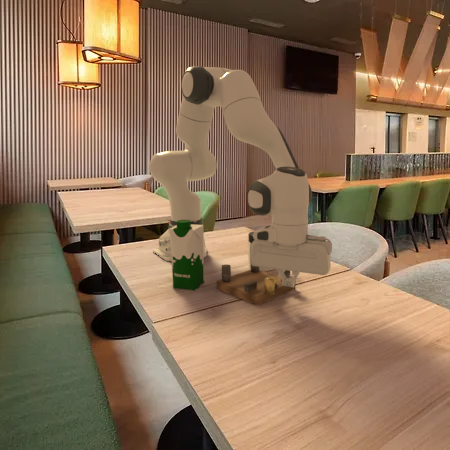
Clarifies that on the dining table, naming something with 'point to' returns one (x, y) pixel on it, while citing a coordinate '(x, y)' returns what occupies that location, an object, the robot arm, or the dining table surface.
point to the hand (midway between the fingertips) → (288, 286)
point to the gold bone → (270, 285)
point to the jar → (250, 240)
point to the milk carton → (187, 255)
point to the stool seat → (250, 284)
